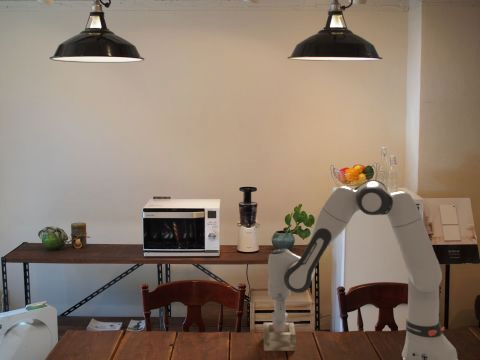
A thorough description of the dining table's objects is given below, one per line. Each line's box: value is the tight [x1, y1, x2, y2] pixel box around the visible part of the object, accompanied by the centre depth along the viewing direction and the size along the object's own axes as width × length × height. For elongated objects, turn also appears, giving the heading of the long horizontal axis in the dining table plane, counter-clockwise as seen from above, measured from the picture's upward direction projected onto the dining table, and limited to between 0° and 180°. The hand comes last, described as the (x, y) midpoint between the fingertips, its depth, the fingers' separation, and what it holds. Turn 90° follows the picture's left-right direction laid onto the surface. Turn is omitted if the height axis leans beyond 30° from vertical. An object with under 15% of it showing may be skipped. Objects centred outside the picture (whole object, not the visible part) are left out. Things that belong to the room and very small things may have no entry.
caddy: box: [262, 322, 296, 352], centre depth 246 cm, size 12×12×6 cm
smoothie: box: [270, 311, 288, 332], centre depth 245 cm, size 6×6×14 cm
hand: (279, 324), depth 245 cm, fingers closed on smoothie, 5 cm apart
